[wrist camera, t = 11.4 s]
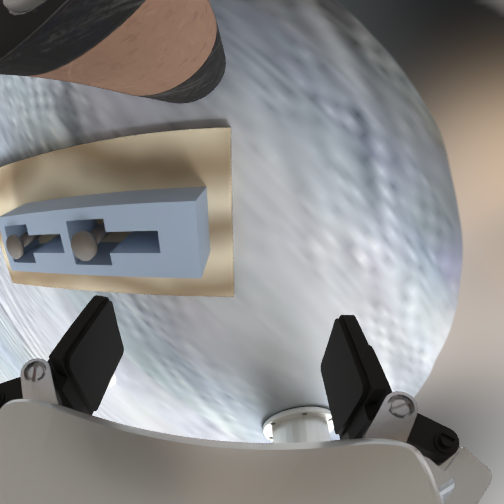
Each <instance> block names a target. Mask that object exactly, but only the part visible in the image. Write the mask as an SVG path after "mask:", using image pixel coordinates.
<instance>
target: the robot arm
mask: <svg viewBox="0 0 504 504" xmlns="http://www.w3.org/2000/svg"><path fill="white" fill-rule="evenodd" d="M123 351H124V347H123V343H122V340H121V336H120V332H119V329H118V325H117V321H116V317H115V313H114V308H113V304H112V302H111V301H109V299H108V297H103V296H97V295H96V296H94V297H93V298H92V299H91V301H90V302H89V303H88V304H87V306H86V307H85V308H84V310H83V311H82V312H81V313H80V315H79V316H78V317H77V319H76V320H75V321H74V323H73V324H72V325H71V327H70V328H69V329H68V331H67V332H66V333H65V335H64V336H63V337H62V339H61V340H60V341H59V343H58V344H57V346H56V347H55V349H54V350H53V351H52V353H51V354H50V356H49V358H50V359H49V360H48V362H47V361H46V360H43V359H39V358H37V359H32V360H30V361H28V362H27V363H26V364H25V365H24V366H23V367H22V370H21V377H19V378H16V379H13V380H10V381H7V382H4V383H1V384H0V504H478V502H479V500H480V499H481V497H482V496H483V494H484V493H485V491H486V490H487V488H488V486H489V485H490V482H491V479H492V474H491V471H490V470H489V468H488V467H487V466H486V465H485V464H483V463H482V462H481V461H480V460H479V459H478V458H476V457H475V456H474V455H473V454H472V453H471V452H470V451H468V450H467V449H466V448H465V447H462V448H460V447H459V439H458V437H457V434H456V433H455V432H454V431H453V430H451V429H449V428H447V427H445V426H443V425H441V424H439V423H437V422H435V421H433V420H431V419H429V418H427V417H425V416H423V415H421V414H419V413H418V405H417V402H416V401H415V399H414V398H413V397H412V396H411V395H409V394H407V393H404V392H398V391H396V392H392V390H391V388H390V385H389V383H388V381H387V379H386V376H385V374H384V372H383V369H382V367H381V365H380V363H379V361H378V358H377V356H376V354H375V352H374V350H373V348H372V346H370V345H368V342H367V340H366V338H365V336H364V334H363V332H362V330H361V327H360V325H359V323H358V321H357V319H356V317H355V316H354V315H341V316H340V317H339V319H336V320H335V322H334V325H333V329H332V332H331V335H330V338H329V341H328V345H327V348H326V351H325V354H324V357H323V360H322V363H321V373H322V377H323V381H324V386H325V390H326V394H327V399H328V403H329V408H330V410H328V409H325V408H321V407H299V408H293V409H289V410H285V411H282V412H280V413H277V414H275V415H273V416H272V417H270V418H269V419H268V420H266V422H265V423H264V425H263V434H264V436H265V437H266V438H267V439H269V440H271V441H273V443H244V442H228V441H216V440H206V439H198V438H190V437H183V436H176V435H170V434H165V433H159V432H154V431H149V430H145V429H140V428H136V427H131V426H127V425H123V424H120V423H116V422H112V421H109V420H105V419H102V418H98V417H95V416H92V414H93V412H94V411H96V410H97V409H98V407H99V405H100V403H101V400H102V398H103V396H104V394H105V391H106V389H107V387H108V385H109V383H110V380H111V378H112V376H113V374H114V372H115V370H116V368H117V365H118V363H119V361H120V359H121V357H122V355H123ZM333 429H334V430H335V433H336V434H339V436H340V440H334V441H331V438H330V432H331V431H332V430H333Z"/></svg>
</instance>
